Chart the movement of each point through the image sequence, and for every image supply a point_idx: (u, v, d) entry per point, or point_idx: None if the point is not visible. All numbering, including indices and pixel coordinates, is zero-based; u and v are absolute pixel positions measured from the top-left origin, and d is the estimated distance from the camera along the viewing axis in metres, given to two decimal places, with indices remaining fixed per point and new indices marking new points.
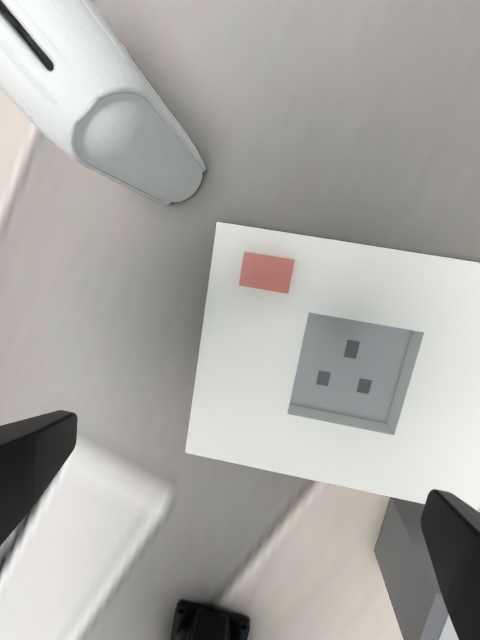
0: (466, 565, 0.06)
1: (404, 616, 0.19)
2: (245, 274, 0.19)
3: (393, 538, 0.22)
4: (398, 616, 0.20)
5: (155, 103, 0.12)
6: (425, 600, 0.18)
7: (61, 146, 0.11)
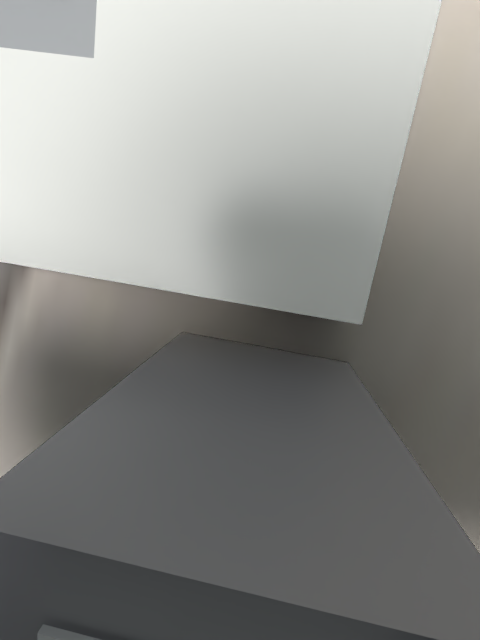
0: None
1: None
2: None
3: None
4: None
5: None
6: None
7: None
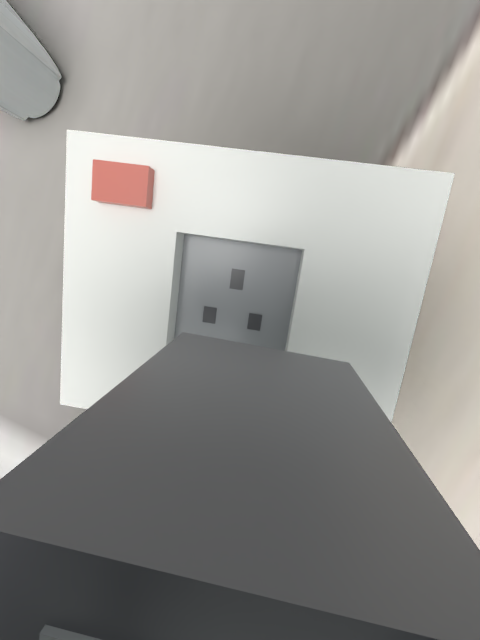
0: None
1: None
2: (97, 186, 0.16)
3: None
4: None
5: None
6: None
7: None
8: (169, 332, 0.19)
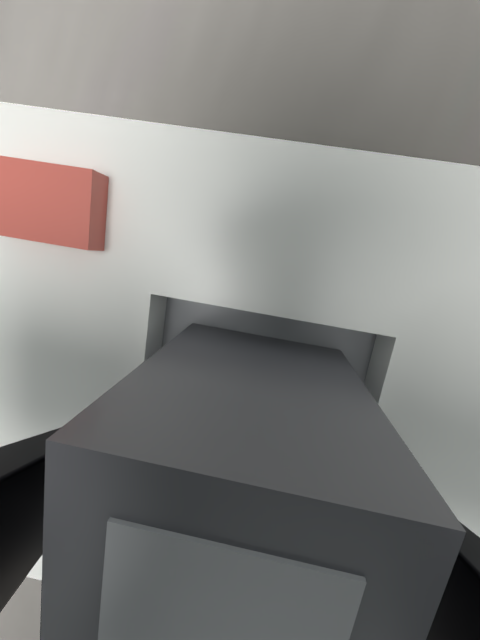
0: None
1: None
2: None
3: None
4: None
5: None
6: None
7: None
8: None
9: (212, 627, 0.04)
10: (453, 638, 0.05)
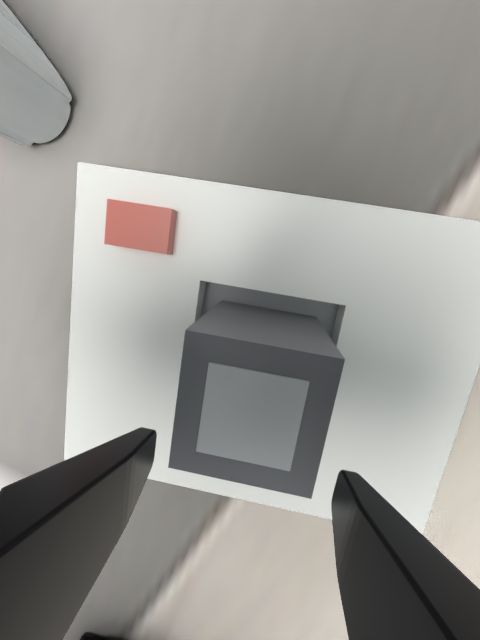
0: (352, 539, 0.06)
1: None
2: (111, 229, 0.14)
3: None
4: None
5: None
6: None
7: None
8: None
9: (249, 407, 0.10)
10: (373, 618, 0.05)
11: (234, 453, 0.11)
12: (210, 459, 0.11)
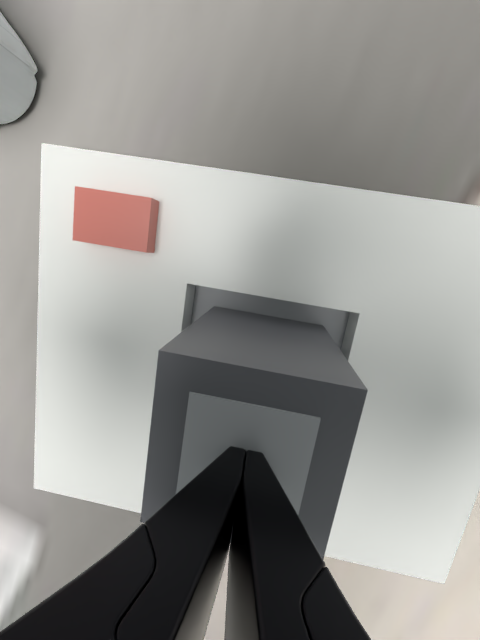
0: (237, 513, 0.06)
1: None
2: (80, 222, 0.12)
3: None
4: None
5: None
6: None
7: None
8: None
9: None
10: (235, 585, 0.05)
11: None
12: None
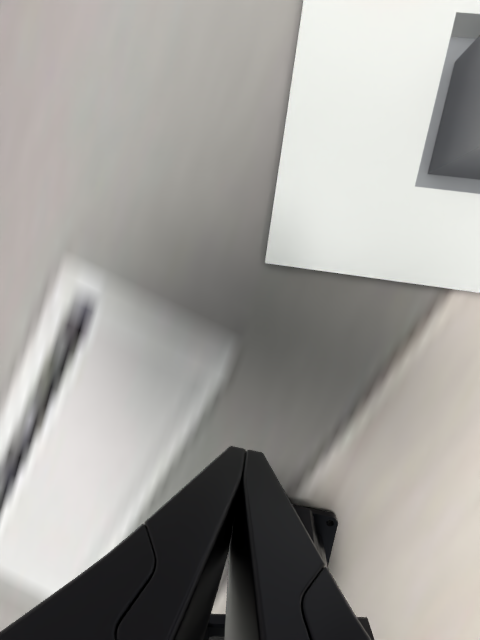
0: (237, 513, 0.06)
1: None
2: None
3: (468, 82, 0.14)
4: None
5: None
6: None
7: None
8: None
9: None
10: (235, 585, 0.05)
11: None
12: None
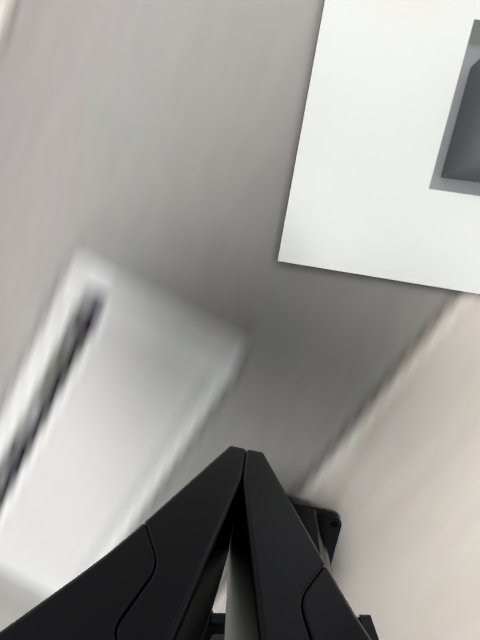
0: (237, 513, 0.06)
1: None
2: None
3: None
4: None
5: None
6: None
7: None
8: None
9: None
10: (235, 585, 0.05)
11: None
12: None
